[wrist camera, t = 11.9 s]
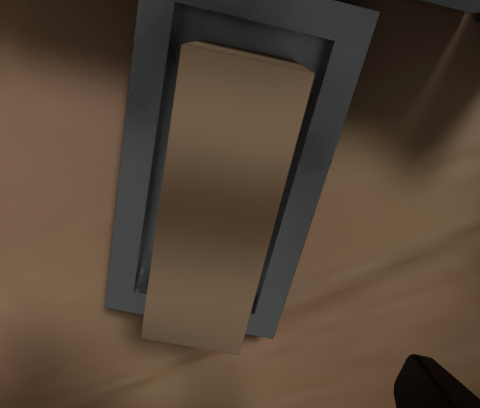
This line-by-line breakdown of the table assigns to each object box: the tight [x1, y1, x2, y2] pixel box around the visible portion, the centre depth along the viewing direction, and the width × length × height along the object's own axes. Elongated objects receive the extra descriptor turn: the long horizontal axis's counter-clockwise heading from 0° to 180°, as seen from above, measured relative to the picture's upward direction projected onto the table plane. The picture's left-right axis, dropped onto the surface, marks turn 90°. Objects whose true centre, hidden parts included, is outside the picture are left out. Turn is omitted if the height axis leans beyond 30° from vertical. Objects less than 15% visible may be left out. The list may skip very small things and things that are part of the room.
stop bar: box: [141, 39, 315, 355], centre depth 15 cm, size 10×4×5 cm, turn 168°
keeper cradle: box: [105, 0, 380, 339], centre depth 17 cm, size 14×8×2 cm, turn 167°
